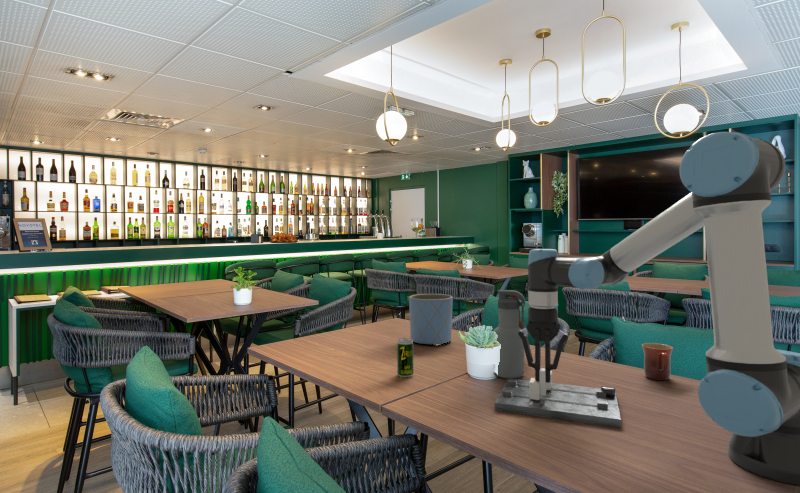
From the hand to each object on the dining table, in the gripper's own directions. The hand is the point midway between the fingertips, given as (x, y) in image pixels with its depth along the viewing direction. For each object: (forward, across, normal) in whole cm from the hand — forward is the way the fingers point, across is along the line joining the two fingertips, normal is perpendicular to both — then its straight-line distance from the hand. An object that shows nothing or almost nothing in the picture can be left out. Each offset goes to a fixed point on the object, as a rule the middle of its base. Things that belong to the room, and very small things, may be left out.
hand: (542, 393), depth 119 cm
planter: (+4, +52, -60) cm, 79 cm away
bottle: (+4, +14, -43) cm, 45 cm away
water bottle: (+4, +13, -25) cm, 28 cm away
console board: (+4, -3, -4) cm, 6 cm away
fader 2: (+1, 0, -9) cm, 9 cm away
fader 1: (+1, +2, 0) cm, 2 cm away
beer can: (+4, +45, -12) cm, 46 cm away
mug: (+4, -32, -37) cm, 49 cm away
